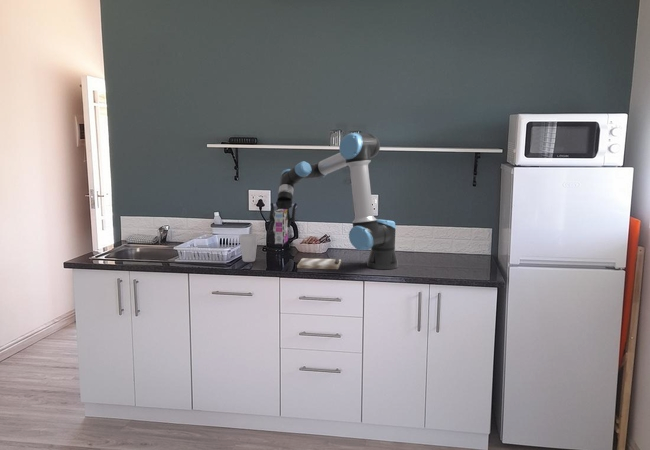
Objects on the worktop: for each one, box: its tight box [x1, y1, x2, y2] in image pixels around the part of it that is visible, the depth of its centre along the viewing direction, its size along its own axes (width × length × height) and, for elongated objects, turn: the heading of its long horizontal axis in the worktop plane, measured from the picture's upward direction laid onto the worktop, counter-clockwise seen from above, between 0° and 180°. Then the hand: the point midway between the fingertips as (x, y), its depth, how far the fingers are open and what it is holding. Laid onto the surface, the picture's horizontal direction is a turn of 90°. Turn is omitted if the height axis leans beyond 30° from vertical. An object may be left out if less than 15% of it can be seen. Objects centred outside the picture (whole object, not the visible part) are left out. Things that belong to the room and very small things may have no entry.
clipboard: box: [296, 257, 342, 270], centre depth 269 cm, size 20×17×2 cm
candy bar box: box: [273, 209, 289, 245], centre depth 269 cm, size 11×5×16 cm, turn 173°
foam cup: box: [238, 233, 259, 263], centre depth 277 cm, size 10×9×13 cm
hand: (280, 231), depth 265 cm, fingers closed on candy bar box, 5 cm apart
